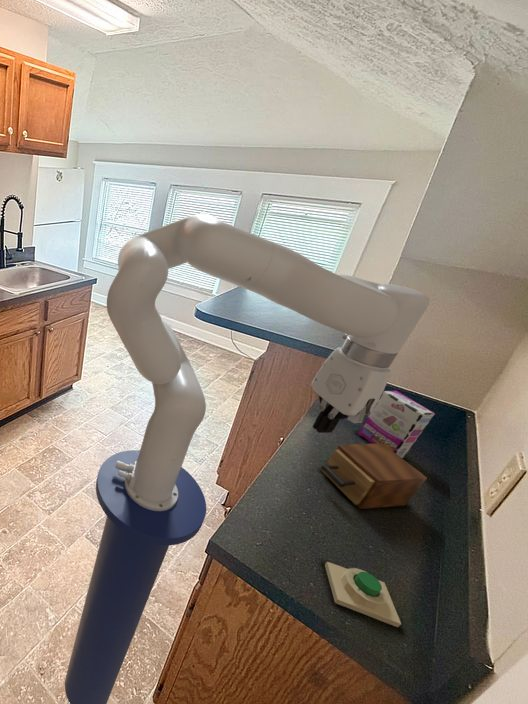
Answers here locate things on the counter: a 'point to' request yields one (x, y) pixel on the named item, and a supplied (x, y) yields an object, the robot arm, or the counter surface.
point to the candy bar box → (395, 422)
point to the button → (368, 583)
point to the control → (360, 595)
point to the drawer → (348, 476)
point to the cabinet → (384, 475)
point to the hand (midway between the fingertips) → (321, 429)
